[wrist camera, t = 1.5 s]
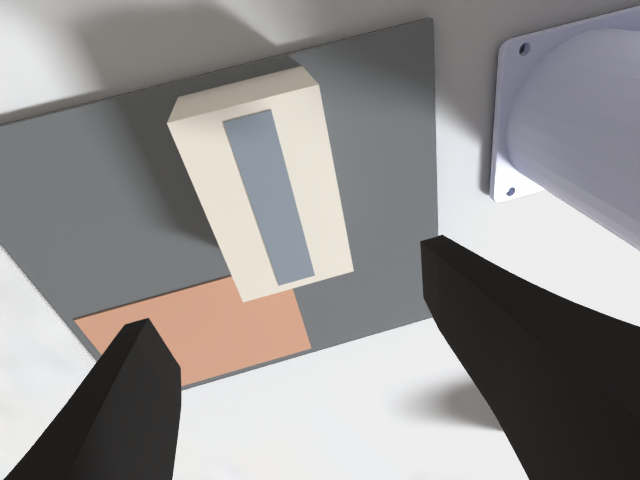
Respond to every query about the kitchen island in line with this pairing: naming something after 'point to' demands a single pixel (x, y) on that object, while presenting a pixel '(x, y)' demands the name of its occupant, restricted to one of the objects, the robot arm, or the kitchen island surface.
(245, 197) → the card deck
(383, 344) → the kitchen island surface
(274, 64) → the mat
